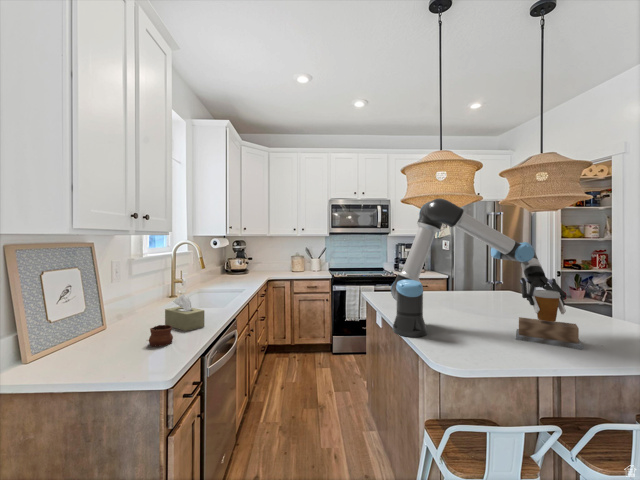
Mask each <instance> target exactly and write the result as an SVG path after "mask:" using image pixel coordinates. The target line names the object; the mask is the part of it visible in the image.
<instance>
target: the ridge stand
mask: <svg viewBox="0 0 640 480" xmlns="http://www.w3.org/2000/svg"><path fill="white" fill-rule="evenodd" d="M579 332H580V331H579V327H578V324H577V323H570V322H565V321H564V322H562V321H557V320H556V321H543V320H539V319H538V318H529V317H522V316H521V317H518V328H516V331H515V340H518V341H524V342H529V343H537V344H544V345H550V346H557V347H564V348H569V349H570V348H571V349H578V350H582V349H583V350H584V344H583V343H582V342H581V340H580V338H579V336H580V334H579Z"/></svg>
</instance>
